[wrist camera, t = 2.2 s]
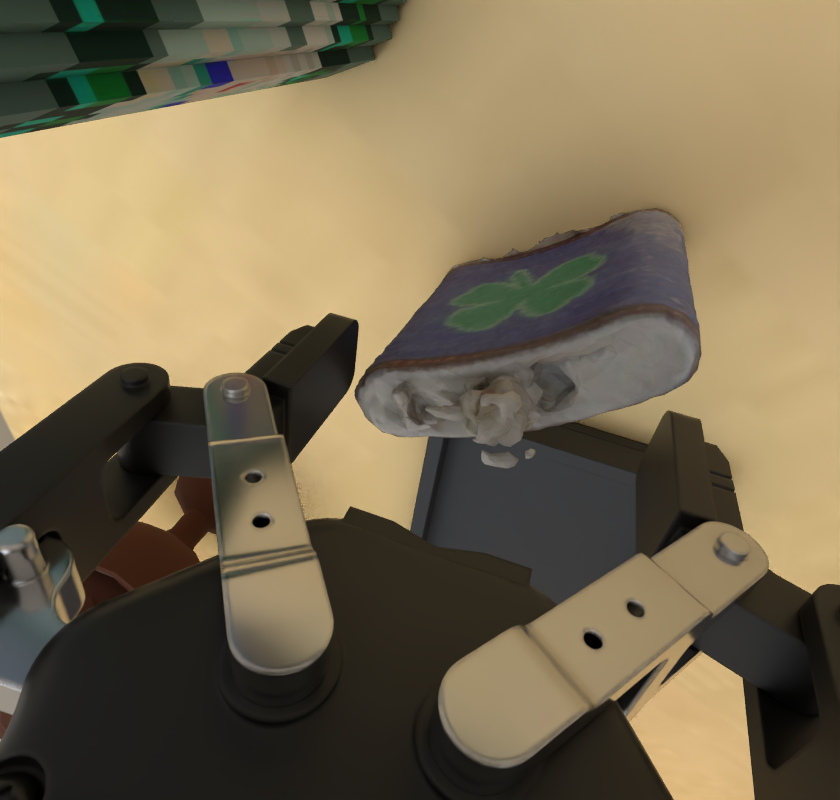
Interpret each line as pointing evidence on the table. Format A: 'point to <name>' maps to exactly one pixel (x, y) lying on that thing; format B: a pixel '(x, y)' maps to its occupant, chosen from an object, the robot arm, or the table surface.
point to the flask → (542, 337)
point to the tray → (536, 503)
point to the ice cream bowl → (151, 551)
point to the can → (169, 52)
